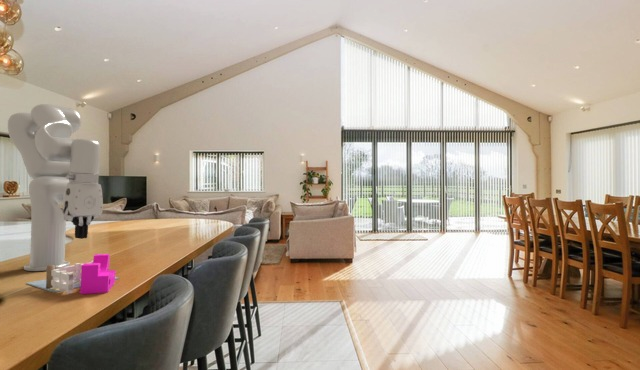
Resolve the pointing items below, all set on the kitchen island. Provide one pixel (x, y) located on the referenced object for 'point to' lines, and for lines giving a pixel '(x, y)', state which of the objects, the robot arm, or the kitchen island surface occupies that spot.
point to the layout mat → (42, 285)
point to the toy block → (97, 275)
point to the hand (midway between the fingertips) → (81, 237)
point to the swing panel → (76, 268)
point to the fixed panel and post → (59, 279)
